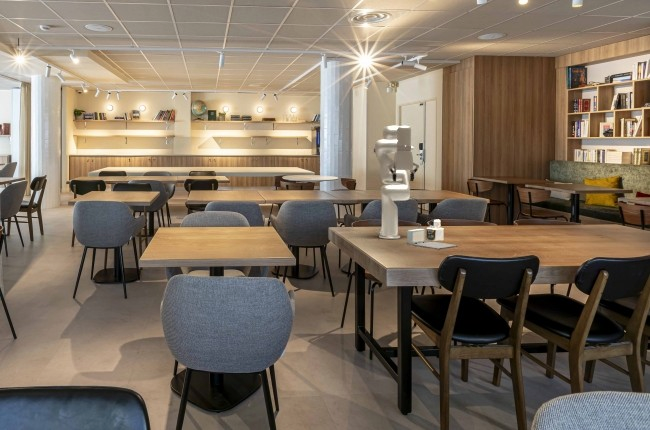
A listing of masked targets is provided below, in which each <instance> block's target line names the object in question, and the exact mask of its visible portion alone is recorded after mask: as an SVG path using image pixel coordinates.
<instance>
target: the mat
mask: <svg viewBox="0 0 650 430" xmlns="http://www.w3.org/2000/svg"><path fill="white" fill-rule="evenodd" d="M412 246H415V247H420V248H427V249H432V250H445V249H451V248H456V247H458V245H456V244H450V243H446V242H445V243H443V242H440V241H427V242H424V243H417V244H412Z"/></svg>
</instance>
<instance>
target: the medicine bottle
mask: <svg viewBox="0 0 650 430" xmlns="http://www.w3.org/2000/svg"><path fill="white" fill-rule="evenodd" d="M441 223H442V222H441V220H440V219H436V218H435V219H431V220H430V221H429V227H426V233H425V235H426V236H425V237H426V238H425V241H428V242H442V241H444V232H445V229H444V227H441Z"/></svg>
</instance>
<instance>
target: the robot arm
mask: <svg viewBox="0 0 650 430" xmlns="http://www.w3.org/2000/svg"><path fill="white" fill-rule="evenodd" d="M382 137H383V138H382V139H378V140H377V141H376V142H375V143H374V151H375V152H374V153H375V155H376V158H377V161H378V163H379V169H380V177H381V178H380V179H381V182H382V183H383V185H381V187H380V198H381V229H378V230H377V233H378V238H380V239H387V240H389V239H391V240H392V239H401V234H399V232H398V228H399V227H398V226H399V224H398V223H399V219H398V218H399V208H398V205H397V204H396V203H395V202H396V201H408V200H410V197H411V188H410V182H414V180H415V174H416V172H417V171H418V169H419V168H420V165H418V164H417V163H415V162H414V157H413V152H412V150H414V147H413V146H412V128H411V126H410V125H409V126H408V125H387V126H386V125H385V126H384V127H383V129H382ZM388 154H393V158H392V157H390V155H388ZM408 171H409V172H410V175H409V172H408ZM394 201H395V202H394Z"/></svg>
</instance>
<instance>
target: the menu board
mask: <svg viewBox="0 0 650 430" xmlns="http://www.w3.org/2000/svg"><path fill="white" fill-rule="evenodd" d="M425 235H426V229H425V228H417V229H408V230H407V238H406V239H407V241H406V242H407V243H408V244H407V243H406V244H407V245H413V244H415V243H417V244H419V243H423V242H424V243H426V242H425V241H426V238H425V237H426V236H425Z"/></svg>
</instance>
